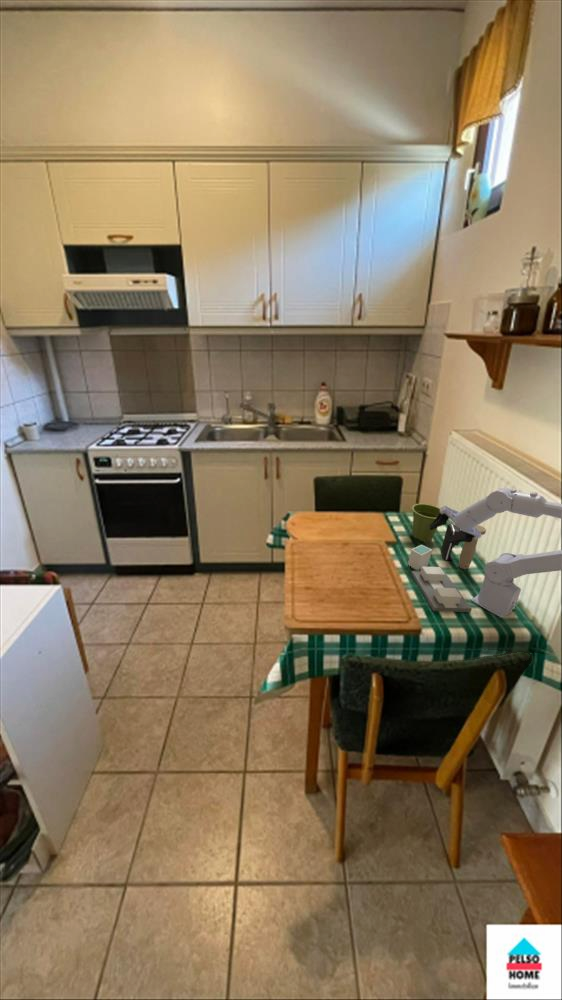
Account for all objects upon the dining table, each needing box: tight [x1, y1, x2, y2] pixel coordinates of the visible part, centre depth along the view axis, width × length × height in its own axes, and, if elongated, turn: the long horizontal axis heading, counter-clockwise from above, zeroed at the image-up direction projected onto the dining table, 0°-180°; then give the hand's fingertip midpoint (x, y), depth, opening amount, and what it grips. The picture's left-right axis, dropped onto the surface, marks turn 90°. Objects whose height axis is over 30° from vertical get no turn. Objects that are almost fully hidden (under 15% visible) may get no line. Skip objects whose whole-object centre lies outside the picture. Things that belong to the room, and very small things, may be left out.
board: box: [411, 566, 472, 613], centre depth 126 cm, size 18×11×4 cm, turn 4°
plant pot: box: [411, 503, 441, 542], centre depth 156 cm, size 12×12×11 cm
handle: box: [458, 524, 487, 570], centre depth 138 cm, size 5×6×15 cm
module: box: [407, 544, 433, 571], centre depth 139 cm, size 4×6×6 cm, turn 129°
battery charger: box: [440, 523, 461, 561], centre depth 145 cm, size 7×4×11 cm, turn 169°
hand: (439, 534), depth 132 cm, fingers open, 7 cm apart
